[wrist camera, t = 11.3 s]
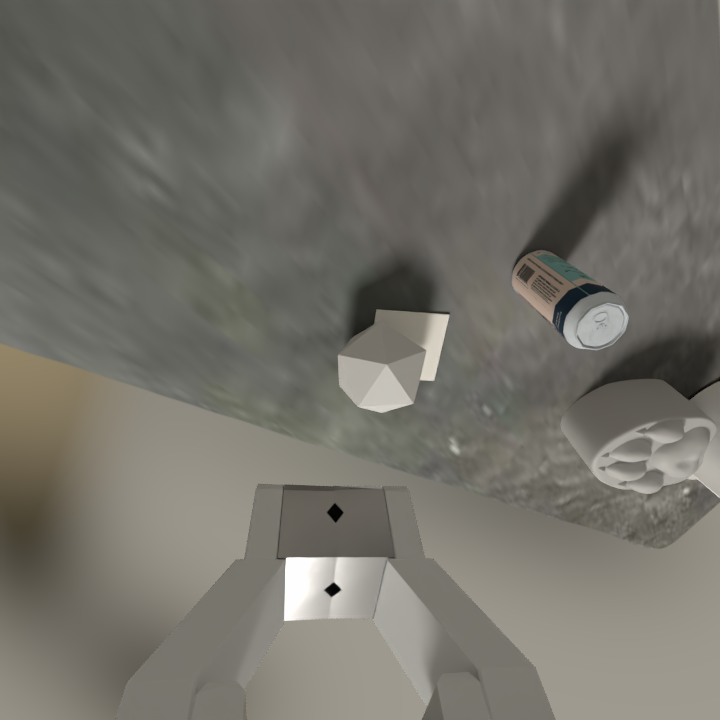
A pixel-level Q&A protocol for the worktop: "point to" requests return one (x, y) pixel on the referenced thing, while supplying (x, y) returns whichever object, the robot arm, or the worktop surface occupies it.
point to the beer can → (570, 300)
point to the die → (381, 368)
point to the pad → (419, 333)
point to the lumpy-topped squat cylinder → (638, 434)
